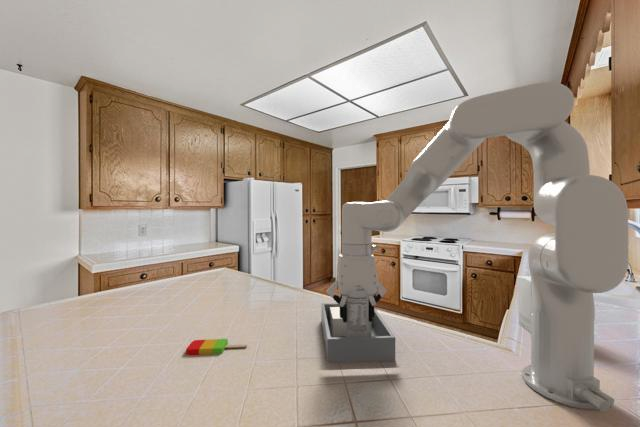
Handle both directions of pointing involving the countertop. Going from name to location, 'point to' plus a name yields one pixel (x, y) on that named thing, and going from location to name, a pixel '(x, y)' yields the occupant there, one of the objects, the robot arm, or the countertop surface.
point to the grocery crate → (358, 341)
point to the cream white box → (339, 322)
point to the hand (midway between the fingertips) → (356, 319)
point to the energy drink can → (357, 313)
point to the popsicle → (209, 346)
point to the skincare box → (525, 301)
